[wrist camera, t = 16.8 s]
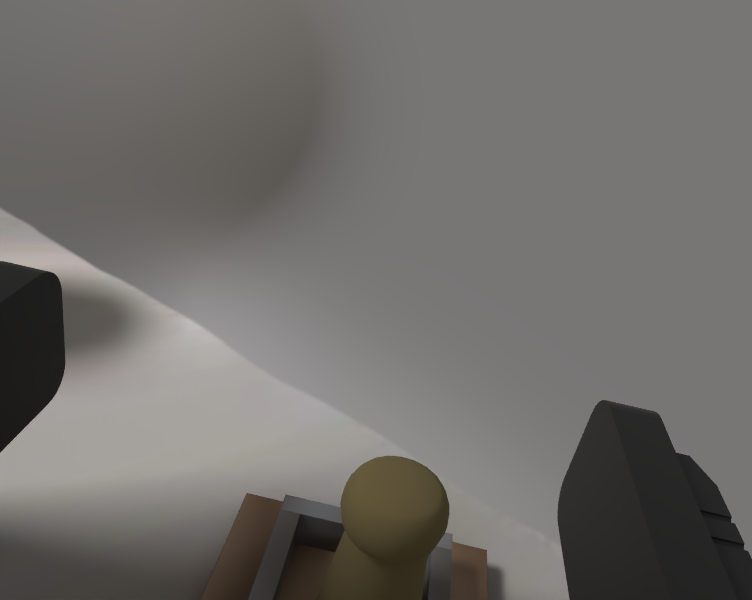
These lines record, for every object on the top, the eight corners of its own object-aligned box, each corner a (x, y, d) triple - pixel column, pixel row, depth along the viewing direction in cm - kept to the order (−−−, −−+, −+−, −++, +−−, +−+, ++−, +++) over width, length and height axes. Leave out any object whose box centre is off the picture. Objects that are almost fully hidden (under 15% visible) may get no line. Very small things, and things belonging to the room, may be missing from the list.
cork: (299, 586, 37) (327, 439, 32) (399, 577, 39) (440, 435, 34) (317, 692, 32) (353, 537, 27) (431, 676, 34) (485, 527, 29)
